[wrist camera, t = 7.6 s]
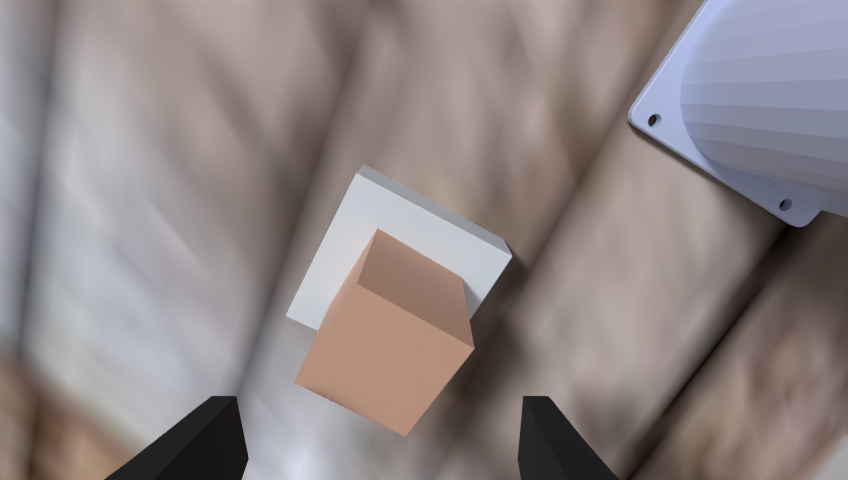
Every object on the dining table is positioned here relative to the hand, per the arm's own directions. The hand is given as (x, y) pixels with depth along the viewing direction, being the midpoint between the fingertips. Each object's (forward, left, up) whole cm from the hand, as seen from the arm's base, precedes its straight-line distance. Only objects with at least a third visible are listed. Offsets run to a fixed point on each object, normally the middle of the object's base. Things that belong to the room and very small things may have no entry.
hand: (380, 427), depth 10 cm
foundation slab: (0, 0, -10) cm, 10 cm away
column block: (0, 0, -7) cm, 7 cm away
